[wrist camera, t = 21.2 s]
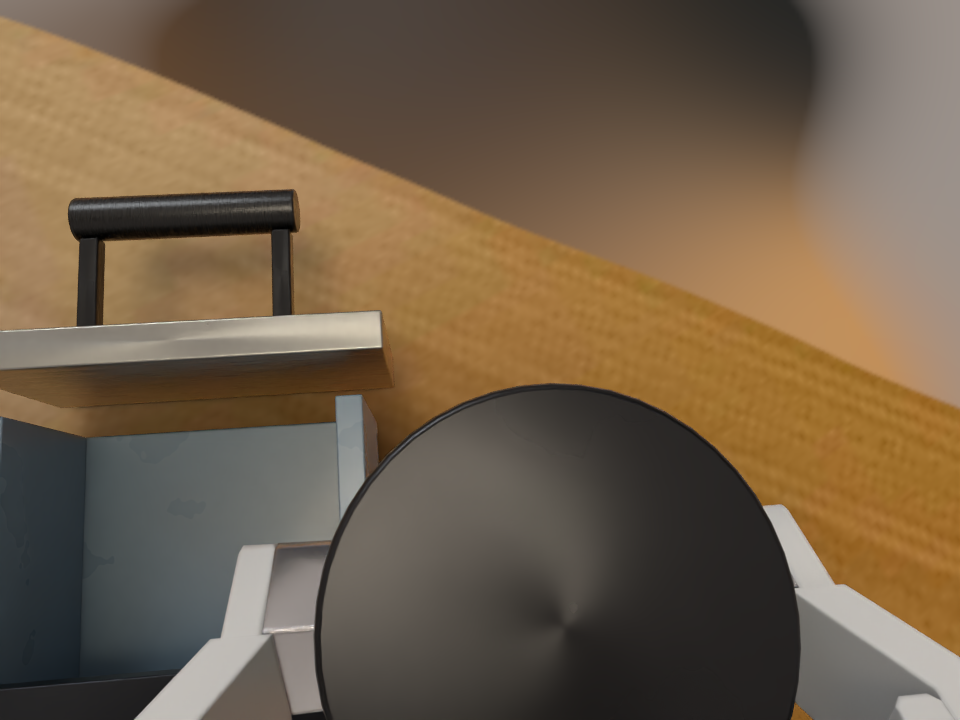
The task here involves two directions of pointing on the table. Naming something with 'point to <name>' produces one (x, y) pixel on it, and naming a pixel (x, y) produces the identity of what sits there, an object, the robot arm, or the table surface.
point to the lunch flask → (556, 573)
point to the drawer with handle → (169, 451)
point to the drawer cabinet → (91, 697)
